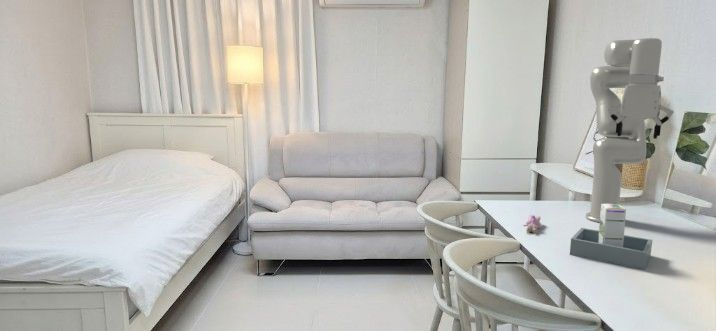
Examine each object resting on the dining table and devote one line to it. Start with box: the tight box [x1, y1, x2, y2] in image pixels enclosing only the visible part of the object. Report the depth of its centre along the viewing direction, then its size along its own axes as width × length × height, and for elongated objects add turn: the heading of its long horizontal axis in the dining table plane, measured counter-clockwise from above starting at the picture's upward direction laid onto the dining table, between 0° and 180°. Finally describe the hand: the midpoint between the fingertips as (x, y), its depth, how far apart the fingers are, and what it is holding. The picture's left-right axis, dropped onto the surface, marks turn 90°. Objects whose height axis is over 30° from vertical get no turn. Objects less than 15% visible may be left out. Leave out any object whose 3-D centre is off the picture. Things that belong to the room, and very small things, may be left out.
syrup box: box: [598, 203, 627, 247], centre depth 142 cm, size 6×6×14 cm
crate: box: [569, 227, 653, 271], centre depth 143 cm, size 14×20×5 cm
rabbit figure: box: [523, 214, 542, 235], centre depth 169 cm, size 6×6×15 cm
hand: (636, 136), depth 144 cm, fingers open, 9 cm apart
